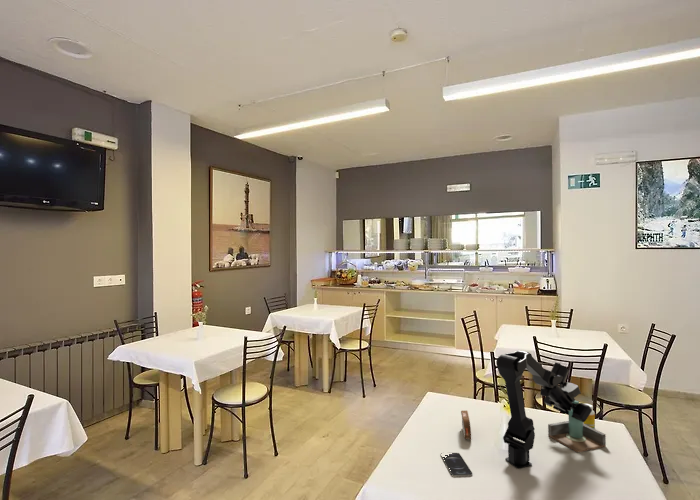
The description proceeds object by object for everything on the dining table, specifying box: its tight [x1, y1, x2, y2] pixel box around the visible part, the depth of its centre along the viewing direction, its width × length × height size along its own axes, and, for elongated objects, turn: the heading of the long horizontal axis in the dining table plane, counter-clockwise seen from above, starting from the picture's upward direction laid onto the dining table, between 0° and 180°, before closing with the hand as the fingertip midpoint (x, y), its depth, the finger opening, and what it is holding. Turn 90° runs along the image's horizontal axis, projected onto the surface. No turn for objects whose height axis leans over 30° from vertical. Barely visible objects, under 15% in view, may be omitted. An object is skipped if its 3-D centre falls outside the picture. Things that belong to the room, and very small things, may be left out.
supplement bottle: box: [583, 403, 596, 430], centre depth 167 cm, size 5×5×10 cm
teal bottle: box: [568, 399, 583, 438], centre depth 156 cm, size 5×5×14 cm
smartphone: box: [440, 452, 473, 478], centre depth 139 cm, size 8×1×15 cm
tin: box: [460, 410, 472, 440], centre depth 162 cm, size 15×3×8 cm, turn 168°
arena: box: [547, 420, 607, 453], centre depth 155 cm, size 14×14×5 cm
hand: (578, 418), depth 157 cm, fingers closed on teal bottle, 5 cm apart
